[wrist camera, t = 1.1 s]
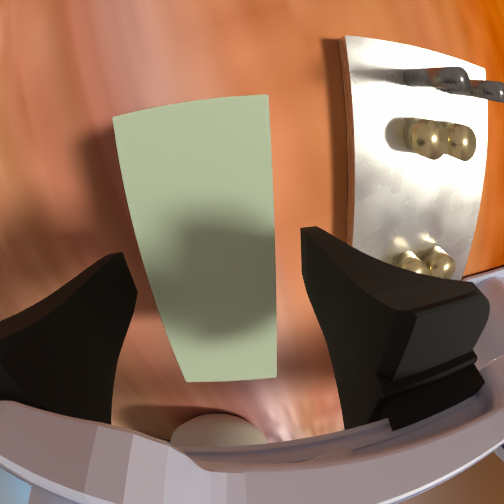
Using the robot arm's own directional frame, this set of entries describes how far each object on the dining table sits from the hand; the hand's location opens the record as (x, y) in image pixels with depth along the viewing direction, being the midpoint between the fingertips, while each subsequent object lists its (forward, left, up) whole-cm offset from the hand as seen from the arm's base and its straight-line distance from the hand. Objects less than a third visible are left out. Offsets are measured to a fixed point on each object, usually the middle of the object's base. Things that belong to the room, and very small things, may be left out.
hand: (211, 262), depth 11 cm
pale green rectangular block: (0, 0, -5) cm, 5 cm away
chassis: (-12, 0, -5) cm, 13 cm away
